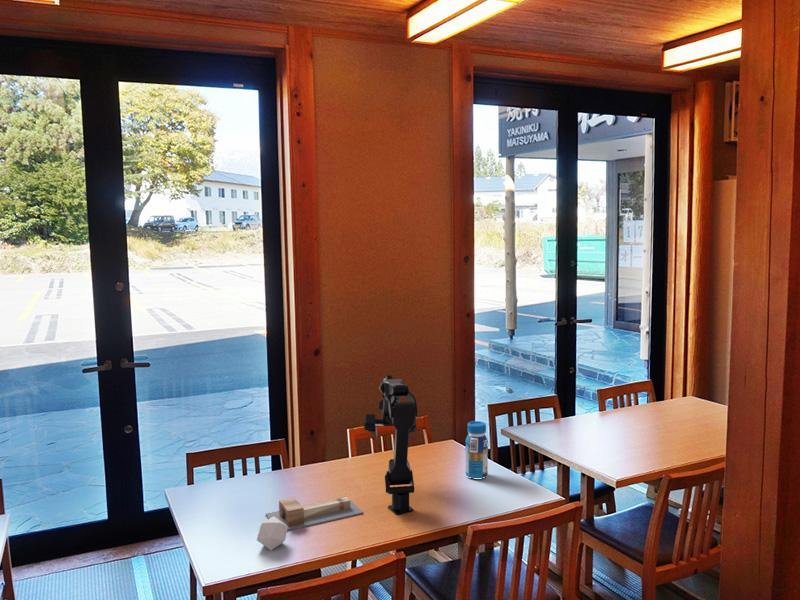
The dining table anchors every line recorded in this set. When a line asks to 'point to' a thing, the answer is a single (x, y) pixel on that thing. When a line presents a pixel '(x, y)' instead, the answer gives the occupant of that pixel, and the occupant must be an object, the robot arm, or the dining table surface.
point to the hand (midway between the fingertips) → (388, 439)
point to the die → (272, 533)
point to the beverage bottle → (476, 450)
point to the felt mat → (321, 516)
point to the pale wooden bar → (326, 507)
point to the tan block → (291, 511)
